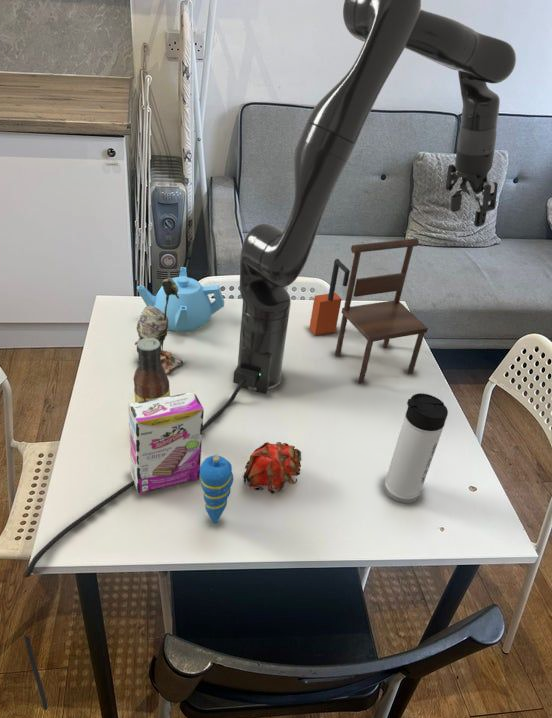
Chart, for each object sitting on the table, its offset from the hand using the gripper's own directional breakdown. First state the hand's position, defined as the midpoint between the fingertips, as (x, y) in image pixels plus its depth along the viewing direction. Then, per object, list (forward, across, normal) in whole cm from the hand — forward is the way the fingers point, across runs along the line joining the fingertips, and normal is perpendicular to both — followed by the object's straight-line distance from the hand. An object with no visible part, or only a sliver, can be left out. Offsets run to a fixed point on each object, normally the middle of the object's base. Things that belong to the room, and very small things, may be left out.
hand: (466, 218), depth 144 cm
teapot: (+13, -17, -66) cm, 69 cm away
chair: (+21, +12, -31) cm, 39 cm away
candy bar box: (+10, +32, -84) cm, 91 cm away
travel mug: (+18, +48, -47) cm, 69 cm away
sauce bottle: (+10, +20, -83) cm, 86 cm away
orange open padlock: (+20, -1, -36) cm, 41 cm away
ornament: (+11, +44, -80) cm, 92 cm away
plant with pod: (+12, -2, -76) cm, 77 cm away
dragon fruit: (+14, +39, -68) cm, 79 cm away
